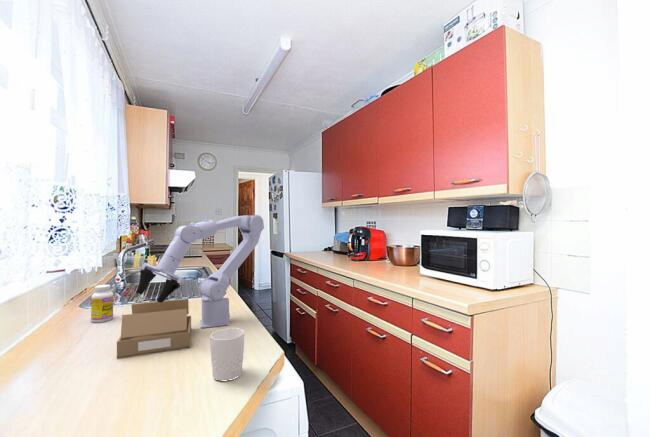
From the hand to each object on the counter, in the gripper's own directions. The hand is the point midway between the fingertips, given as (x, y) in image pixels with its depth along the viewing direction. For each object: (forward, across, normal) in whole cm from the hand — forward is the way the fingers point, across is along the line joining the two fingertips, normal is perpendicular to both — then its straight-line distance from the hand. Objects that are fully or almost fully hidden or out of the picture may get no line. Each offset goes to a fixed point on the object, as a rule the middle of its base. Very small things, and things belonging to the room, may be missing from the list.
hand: (149, 297), depth 95 cm
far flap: (+2, +2, +7) cm, 7 cm away
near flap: (+5, +9, -5) cm, 11 cm away
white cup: (+8, +37, -13) cm, 40 cm away
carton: (+10, +8, +4) cm, 14 cm away
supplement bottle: (+15, -26, +22) cm, 37 cm away
